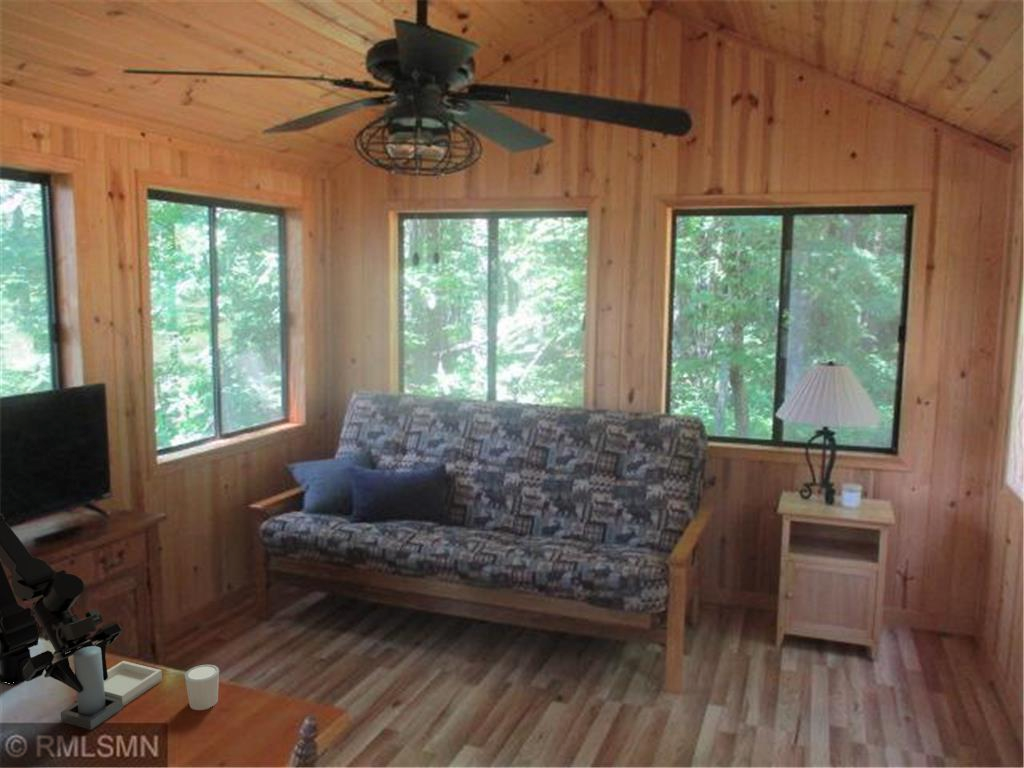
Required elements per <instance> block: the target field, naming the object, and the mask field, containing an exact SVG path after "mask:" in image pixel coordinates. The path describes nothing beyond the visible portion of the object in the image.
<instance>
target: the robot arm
mask: <svg viewBox="0 0 1024 768" xmlns="http://www.w3.org/2000/svg"><path fill="white" fill-rule="evenodd" d="M3 564H4V565H5V567H6V568H7V570H8V571H9V572H10V575H11V579H10V580H11V582H10V580H9V578H8V576H7V573H6V571H5V567H4V565H3ZM84 586H85V585H84V582H83V580H82V579H81V578H80V577H78V576H77V575H75V574H71V573H67V572H66V570H65V569H61V570H59V571H57V570H55V569H54V568H53V567H52V566H51V565H50V564H49V563H48V562H47V561H45V560H44V559H43V560H42V559H40V558H37V557H34V556H33V555H32V554H31V552H30V551H29V550H28V548H27V547H26V546H25V545H24V543H23V542H22V541H21V539H19V537H18V536H17V534H16V533H15V531H14V530H13V529H12V528H11V526H10V525H9V524H8V519H7V517H6V515H5V514H3V513H0V681H1V682H0V683H2V682H7V683H10V684H15V683H16V684H18V683H19V681H20V682H21V680H22V681H24V680H25V681H26V682H30V681H32V680H34V679H37V678H39V677H41V676H42V675H43V673H44V671H45V674H44V675H43V676H44V677H43V678H45V679H47V678H49V677H50V678H52V679H54V680H57V681H59V682H61V683H63V684H64V685H66V686H68V687H69V688H71V689H73V690H74V691H76V693H77V692H79V693H81V692H82V691H83V688H82V686H81V684H80V682H79V680H78V679H77V677H76V676H75V671H74V670H73V669H72V668H71V665H70V661H69V658H70V657H73V654H74V653H75V652H76V651H77V650H79V649H82V648H85V647H90V646H97V647H100V648H101V655H102V667H103V679H104V680H107V678H108V674H107V670H108V669H107V668H108V666H107V660H106V650H107V647H108V646H110V645H112V644H113V643H115V641H116V640H117V638H119V636H121V634H122V632H123V631H124V630H123V628H122V626H121V624H119V623H118V622H115V621H113V622H110V623H108V624H107V625H104V626H101V627H99V628H98V627H97V626H98V625H100V624H102V623H103V622H104V620H103V615H102V614H101V613H100V611H99V610H98V608H95V609H92V610H90V611H87V612H85V617H84V618H81V619H80V617H79V616H78V615H77V614H74V615H73V613H72V611H71V610H70V609H71V607H73V606H74V604H75V602H76V601H77V600H78V598H79V597H80V596H81V594H82V593H83V592H84ZM39 597H40V598H39ZM38 598H39V599H38ZM17 599H20V600H21V601H23V602H29V601H32V600H36V599H37V601H34V602H33V603H32V608H30V607H23V606H22V605H21V604H19V603H18V600H17ZM35 617H36V618H37V620H38V621H37V620H36V618H35ZM40 626H41V627H42V630H43V631H44V633H45V634H44V636H43V638H44V640H45V641H46V642H47V641H50V644H51V646H52V647H53V649H54V652H52V651H50V650H46V651H43V652H41V653H39V654H36V655H35V656H31V651H30V650H31V649H30V648H32V647H36V646H38V645H39V639H40V633H41V632H40V631H41V627H40ZM94 632H95V633H94ZM91 633H94V635H92V636H91V637H89V636H90V635H91ZM87 637H89V638H87ZM13 682H14V683H13ZM17 682H18V683H17ZM10 684H9V685H10ZM16 684H15V685H16Z"/></svg>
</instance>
